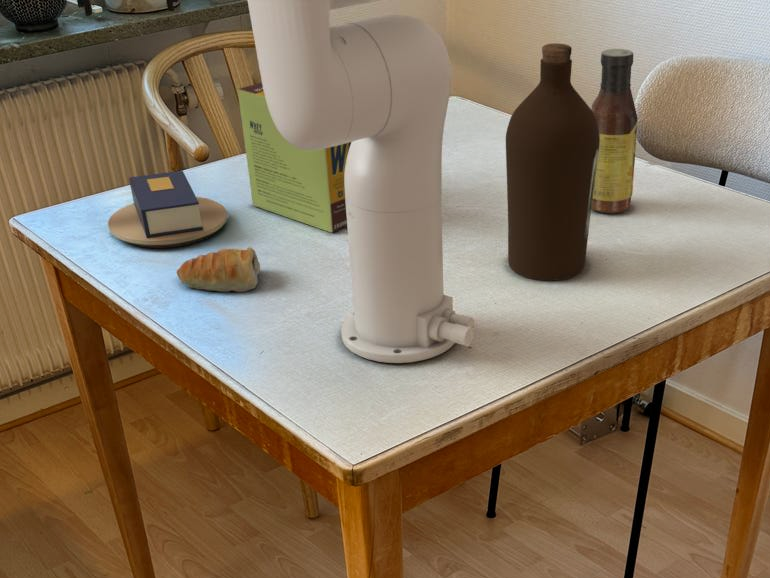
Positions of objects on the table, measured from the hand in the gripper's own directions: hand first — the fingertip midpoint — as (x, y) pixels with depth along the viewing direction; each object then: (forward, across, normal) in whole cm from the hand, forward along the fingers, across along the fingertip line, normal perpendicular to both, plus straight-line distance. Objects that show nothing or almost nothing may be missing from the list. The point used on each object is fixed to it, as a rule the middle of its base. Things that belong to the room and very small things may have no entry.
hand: (130, 11), depth 123 cm
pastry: (+24, +6, -27) cm, 37 cm away
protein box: (+24, +20, -7) cm, 32 cm away
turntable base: (+24, 0, -8) cm, 26 cm away
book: (+24, 0, -8) cm, 26 cm away
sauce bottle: (+24, +58, -17) cm, 65 cm away
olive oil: (+24, +44, -32) cm, 60 cm away
